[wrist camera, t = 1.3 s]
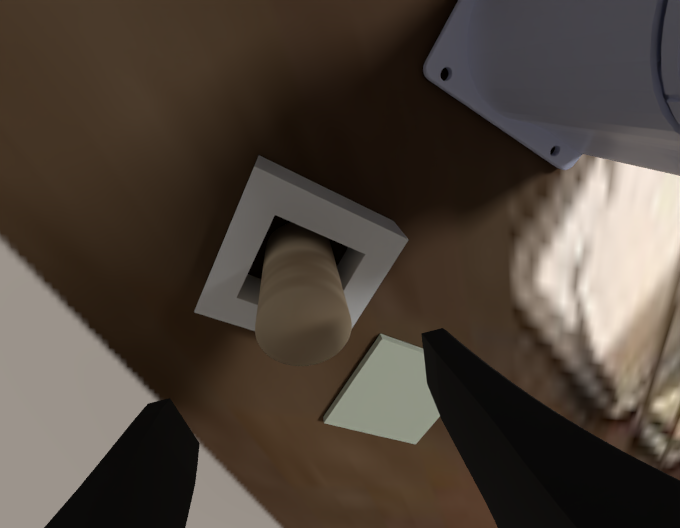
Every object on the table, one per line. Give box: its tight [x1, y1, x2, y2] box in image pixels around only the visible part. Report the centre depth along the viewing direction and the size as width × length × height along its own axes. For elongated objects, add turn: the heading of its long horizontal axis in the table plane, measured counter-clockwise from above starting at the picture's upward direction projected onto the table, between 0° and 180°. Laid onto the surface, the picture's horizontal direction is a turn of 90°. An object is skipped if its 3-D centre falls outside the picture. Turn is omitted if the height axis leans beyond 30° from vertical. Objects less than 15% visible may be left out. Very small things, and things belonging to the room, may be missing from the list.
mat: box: [323, 334, 440, 444], centre depth 24 cm, size 8×8×1 cm
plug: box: [255, 223, 352, 366], centre depth 15 cm, size 4×4×6 cm
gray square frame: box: [194, 155, 409, 356], centre depth 17 cm, size 8×8×2 cm
